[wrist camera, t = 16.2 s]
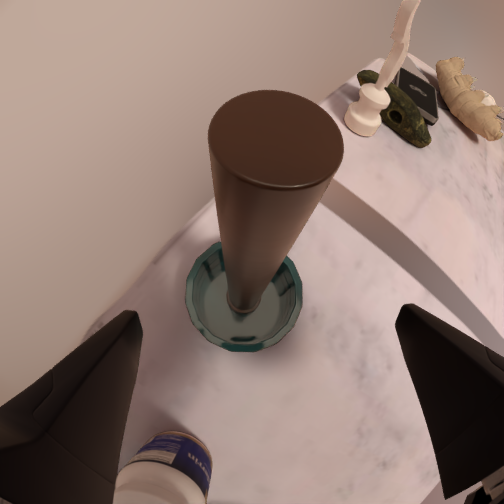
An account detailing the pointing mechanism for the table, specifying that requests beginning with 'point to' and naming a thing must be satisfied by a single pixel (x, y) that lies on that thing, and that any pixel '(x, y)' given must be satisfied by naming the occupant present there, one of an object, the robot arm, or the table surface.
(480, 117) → the model
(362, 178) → the table surface
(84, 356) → the robot arm
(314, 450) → the table surface
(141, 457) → the pill bottle
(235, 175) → the stick
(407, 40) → the decorative finial
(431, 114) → the external hard drive
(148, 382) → the table surface
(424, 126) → the decorative stone
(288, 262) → the bowl
